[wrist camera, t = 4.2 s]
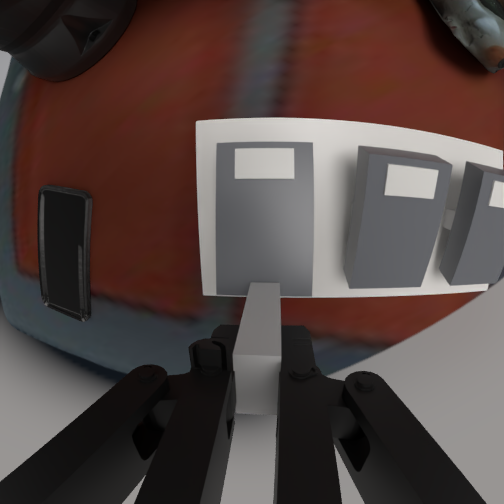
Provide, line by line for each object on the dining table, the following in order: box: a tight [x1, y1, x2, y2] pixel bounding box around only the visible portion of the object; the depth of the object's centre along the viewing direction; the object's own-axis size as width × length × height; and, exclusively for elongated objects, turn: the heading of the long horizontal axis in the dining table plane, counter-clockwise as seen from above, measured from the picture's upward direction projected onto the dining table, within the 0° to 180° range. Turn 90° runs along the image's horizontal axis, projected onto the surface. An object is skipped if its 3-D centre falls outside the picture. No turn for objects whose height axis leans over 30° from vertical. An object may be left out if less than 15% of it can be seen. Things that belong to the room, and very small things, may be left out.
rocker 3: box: [439, 161, 504, 286], centre depth 14 cm, size 8×5×2 cm, turn 1°
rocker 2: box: [343, 145, 453, 289], centre depth 15 cm, size 8×5×2 cm, turn 1°
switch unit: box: [196, 118, 503, 298], centre depth 20 cm, size 24×12×8 cm, turn 91°
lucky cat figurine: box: [429, 0, 504, 73], centre depth 10 cm, size 15×12×14 cm
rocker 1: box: [216, 142, 314, 297], centre depth 16 cm, size 8×5×2 cm, turn 1°
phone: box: [38, 185, 92, 322], centre depth 27 cm, size 8×1×15 cm
